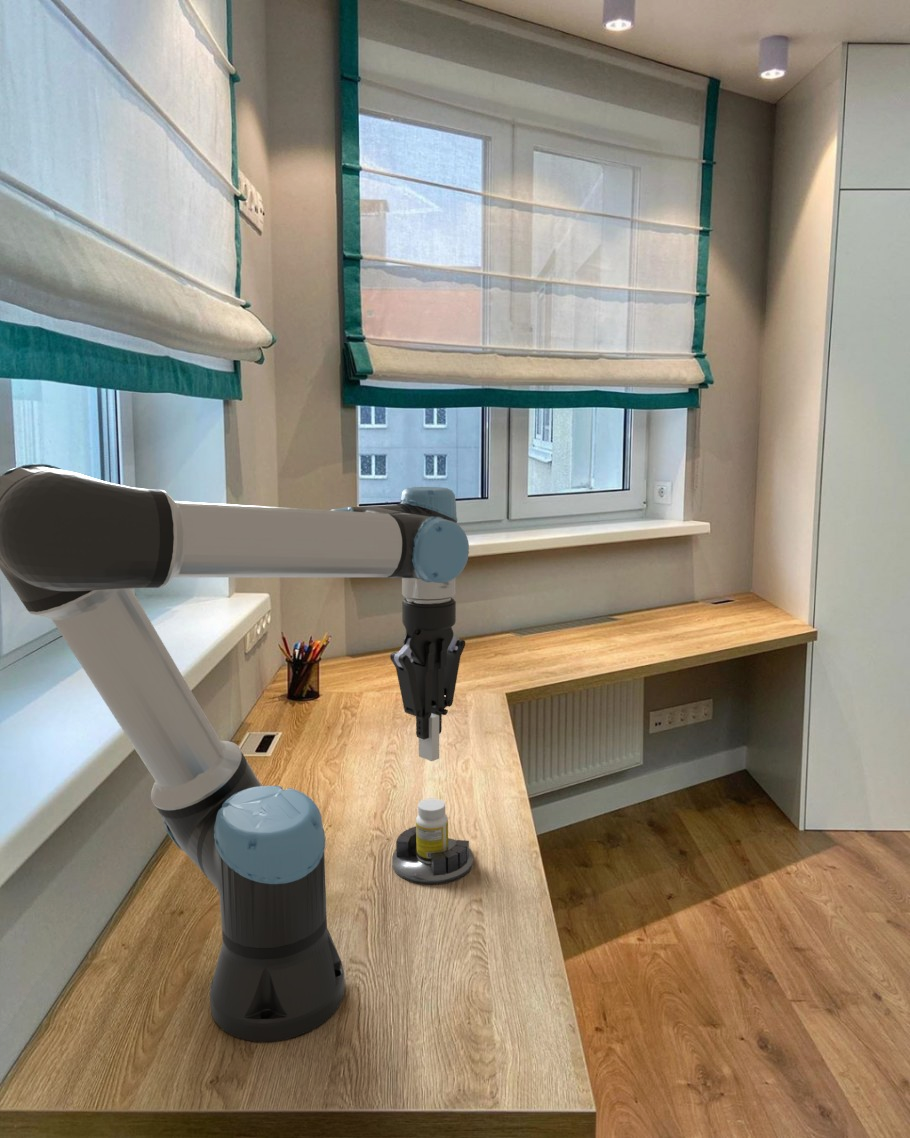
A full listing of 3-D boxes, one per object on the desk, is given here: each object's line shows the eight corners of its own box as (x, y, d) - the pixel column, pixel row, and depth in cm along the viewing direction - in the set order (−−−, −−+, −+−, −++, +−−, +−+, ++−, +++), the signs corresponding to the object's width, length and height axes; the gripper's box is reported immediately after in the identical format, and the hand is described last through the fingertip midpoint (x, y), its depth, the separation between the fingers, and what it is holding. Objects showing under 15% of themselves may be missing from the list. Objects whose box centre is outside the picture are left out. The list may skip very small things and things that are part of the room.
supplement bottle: (431, 845, 132) (430, 794, 130) (455, 855, 129) (454, 802, 127) (409, 858, 128) (408, 805, 127) (434, 868, 125) (433, 814, 124)
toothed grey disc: (432, 894, 120) (432, 871, 120) (375, 863, 129) (375, 842, 128) (489, 861, 129) (489, 839, 128) (433, 834, 137) (432, 814, 136)
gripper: (413, 609, 114) (414, 778, 118) (480, 595, 123) (478, 752, 128) (376, 600, 119) (377, 762, 123) (442, 587, 128) (442, 738, 133)
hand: (428, 757), depth 125 cm, fingers closed
